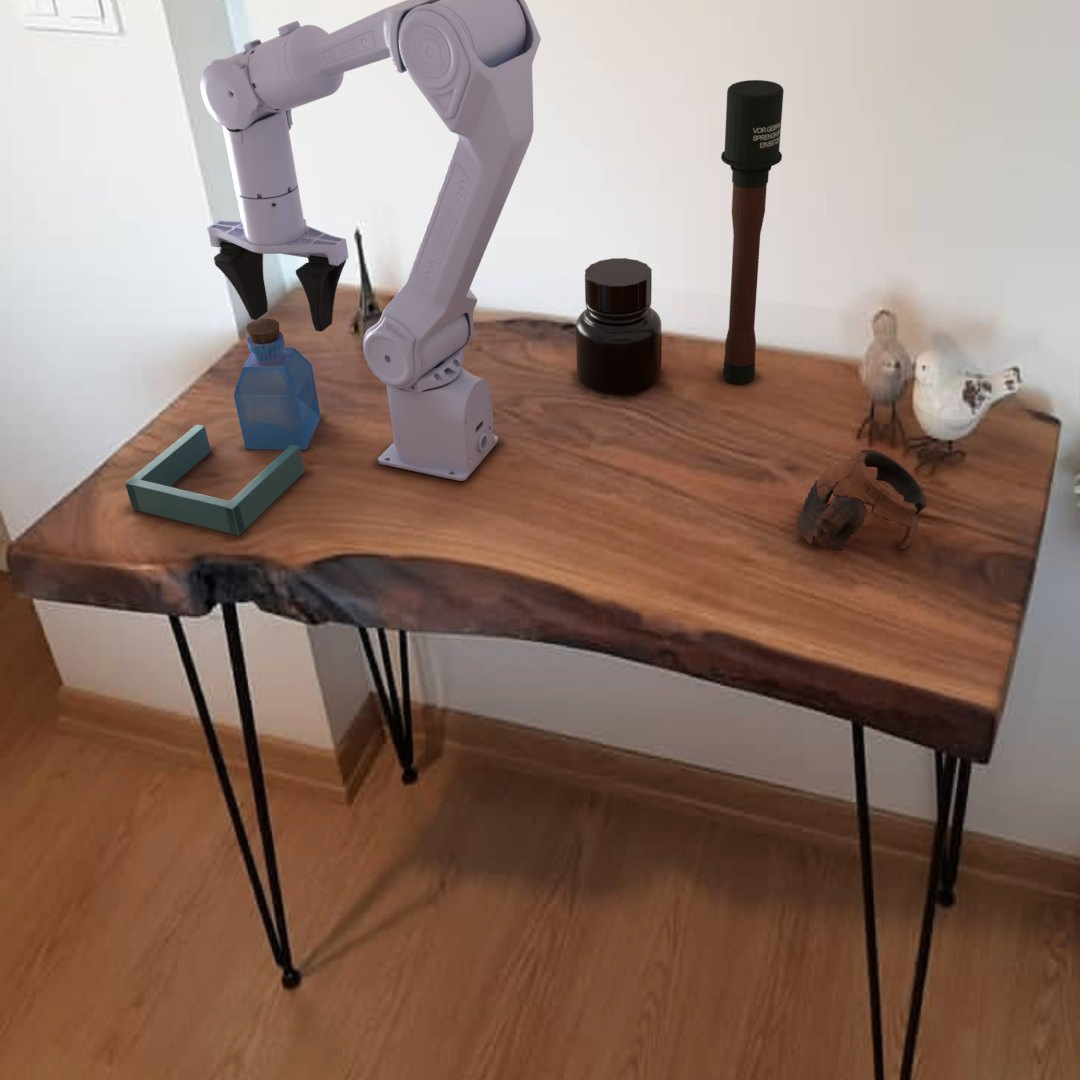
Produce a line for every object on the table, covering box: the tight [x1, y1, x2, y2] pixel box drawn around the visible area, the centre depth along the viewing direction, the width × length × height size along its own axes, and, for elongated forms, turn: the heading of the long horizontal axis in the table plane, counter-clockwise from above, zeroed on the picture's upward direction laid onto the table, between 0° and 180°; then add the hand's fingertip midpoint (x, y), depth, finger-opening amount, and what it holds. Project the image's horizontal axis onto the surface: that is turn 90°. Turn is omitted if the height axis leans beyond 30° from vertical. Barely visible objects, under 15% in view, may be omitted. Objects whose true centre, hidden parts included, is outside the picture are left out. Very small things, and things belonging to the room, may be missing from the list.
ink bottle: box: [575, 257, 663, 396], centre depth 127 cm, size 10×9×12 cm
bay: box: [124, 424, 305, 536], centre depth 116 cm, size 12×11×3 cm
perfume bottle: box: [233, 318, 322, 451], centre depth 121 cm, size 6×6×12 cm
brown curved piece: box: [797, 449, 928, 552], centre depth 104 cm, size 12×10×8 cm
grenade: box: [720, 79, 784, 385], centre depth 121 cm, size 6×6×30 cm
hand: (291, 321), depth 122 cm, fingers open, 7 cm apart
